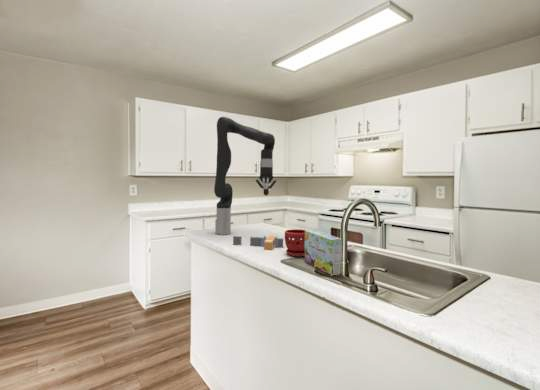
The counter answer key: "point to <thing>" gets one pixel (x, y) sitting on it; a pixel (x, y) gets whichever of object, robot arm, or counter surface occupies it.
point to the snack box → (323, 251)
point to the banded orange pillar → (269, 243)
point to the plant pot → (295, 242)
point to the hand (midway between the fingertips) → (266, 195)
